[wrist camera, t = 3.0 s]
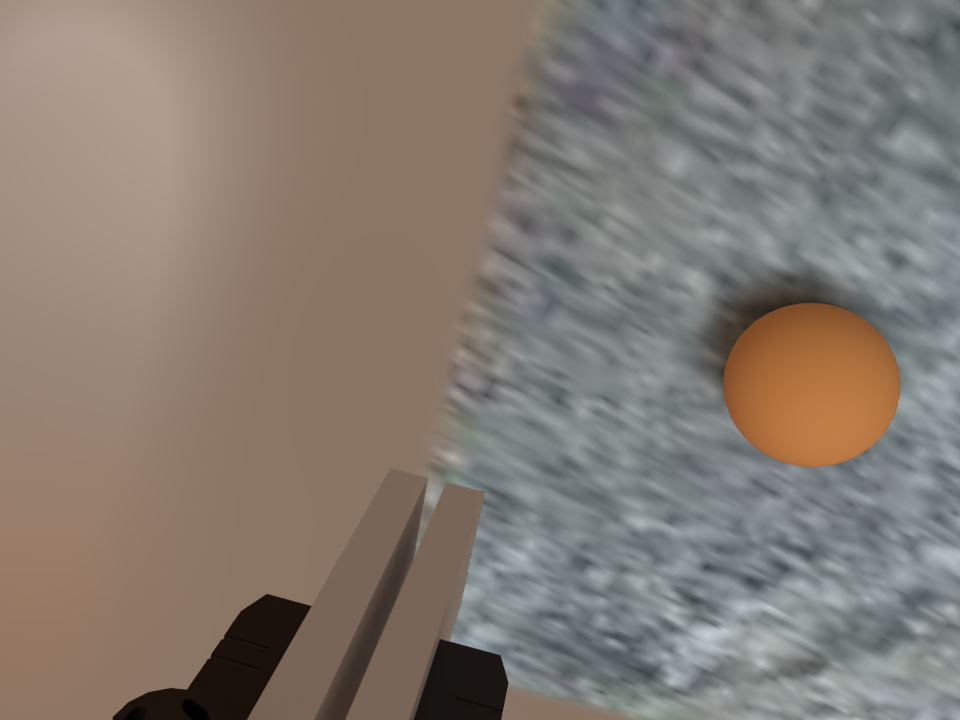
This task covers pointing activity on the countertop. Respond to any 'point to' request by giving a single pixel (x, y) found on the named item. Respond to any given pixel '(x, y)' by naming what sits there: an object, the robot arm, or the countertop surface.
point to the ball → (811, 384)
